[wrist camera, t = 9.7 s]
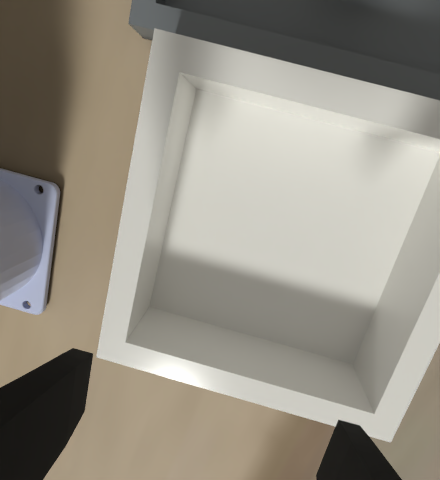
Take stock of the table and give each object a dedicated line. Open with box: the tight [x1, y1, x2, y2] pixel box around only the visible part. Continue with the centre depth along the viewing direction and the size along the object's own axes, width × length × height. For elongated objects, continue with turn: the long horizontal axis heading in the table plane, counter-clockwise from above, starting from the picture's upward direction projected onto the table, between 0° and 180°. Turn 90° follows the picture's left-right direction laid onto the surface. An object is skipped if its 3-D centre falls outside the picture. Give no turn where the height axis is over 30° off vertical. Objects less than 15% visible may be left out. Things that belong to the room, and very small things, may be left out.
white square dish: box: [96, 28, 440, 442], centre depth 16 cm, size 14×14×4 cm
